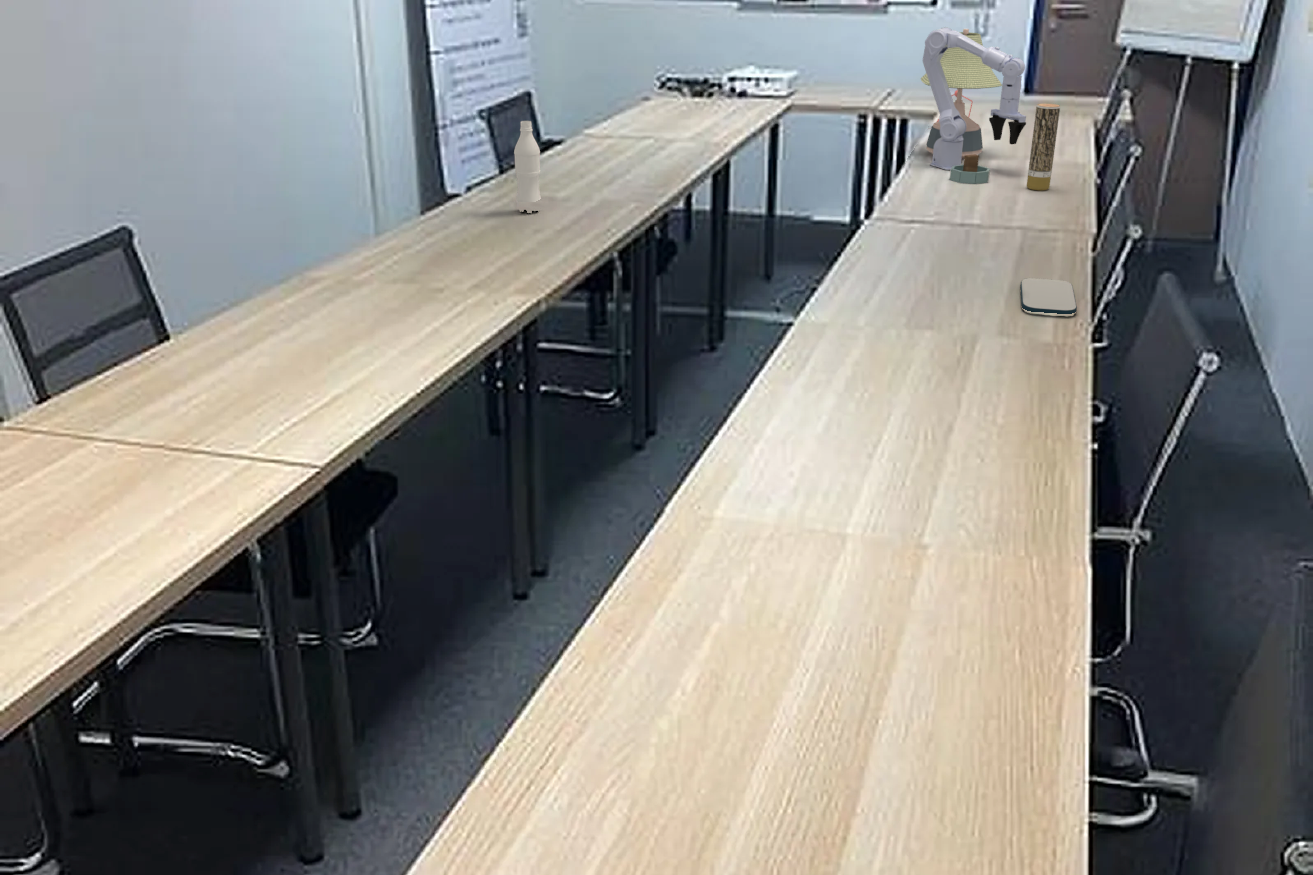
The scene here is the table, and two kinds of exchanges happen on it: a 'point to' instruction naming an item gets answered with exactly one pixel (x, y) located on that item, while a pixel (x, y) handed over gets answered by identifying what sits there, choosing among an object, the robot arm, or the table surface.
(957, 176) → the bowl
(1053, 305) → the external hard drive
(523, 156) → the water bottle
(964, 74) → the desk lamp
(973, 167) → the wooden block
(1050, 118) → the bark patterned cylinder
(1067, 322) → the table surface
